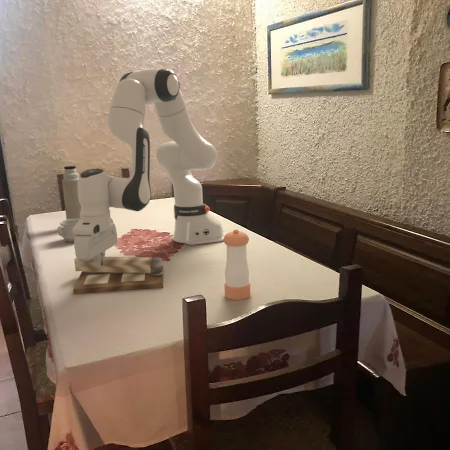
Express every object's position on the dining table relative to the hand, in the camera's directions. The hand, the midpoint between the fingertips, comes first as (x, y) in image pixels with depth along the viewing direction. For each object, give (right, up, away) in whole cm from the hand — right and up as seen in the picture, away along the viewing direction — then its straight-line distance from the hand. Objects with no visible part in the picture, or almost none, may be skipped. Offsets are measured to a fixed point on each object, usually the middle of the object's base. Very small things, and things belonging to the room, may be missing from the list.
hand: (99, 266), depth 150 cm
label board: (+7, -5, 0) cm, 8 cm away
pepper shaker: (+43, -7, -13) cm, 45 cm away
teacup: (-24, +6, +47) cm, 53 cm away
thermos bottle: (-28, +11, +68) cm, 75 cm away
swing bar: (+6, -2, +2) cm, 6 cm away
